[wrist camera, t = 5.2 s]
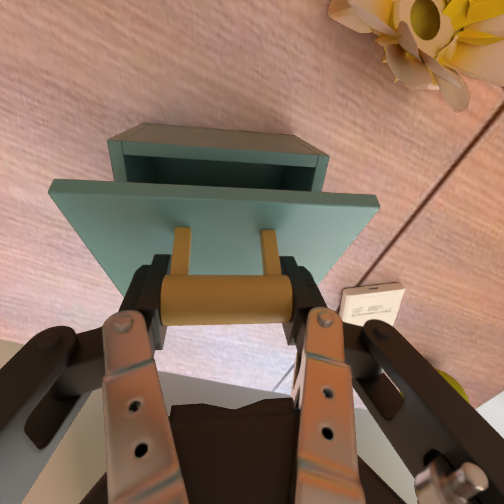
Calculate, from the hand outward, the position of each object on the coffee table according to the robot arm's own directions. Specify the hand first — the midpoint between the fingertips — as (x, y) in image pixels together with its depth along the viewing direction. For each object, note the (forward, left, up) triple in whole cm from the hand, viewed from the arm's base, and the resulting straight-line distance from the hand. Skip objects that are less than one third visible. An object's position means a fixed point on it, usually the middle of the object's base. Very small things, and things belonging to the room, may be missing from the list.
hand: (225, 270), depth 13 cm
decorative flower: (-10, +18, -16) cm, 26 cm away
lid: (+2, 0, -3) cm, 4 cm away
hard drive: (+24, +17, -16) cm, 33 cm away
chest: (+2, 0, -15) cm, 15 cm away
